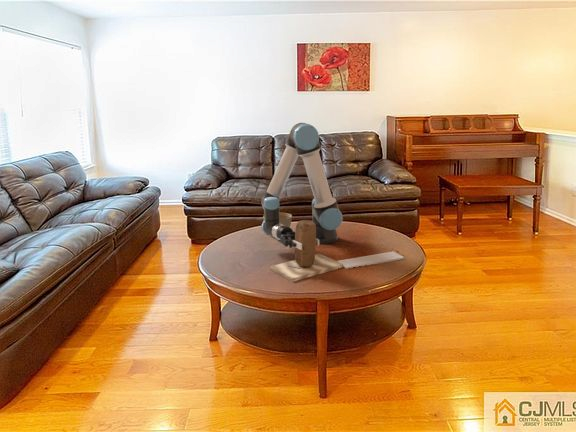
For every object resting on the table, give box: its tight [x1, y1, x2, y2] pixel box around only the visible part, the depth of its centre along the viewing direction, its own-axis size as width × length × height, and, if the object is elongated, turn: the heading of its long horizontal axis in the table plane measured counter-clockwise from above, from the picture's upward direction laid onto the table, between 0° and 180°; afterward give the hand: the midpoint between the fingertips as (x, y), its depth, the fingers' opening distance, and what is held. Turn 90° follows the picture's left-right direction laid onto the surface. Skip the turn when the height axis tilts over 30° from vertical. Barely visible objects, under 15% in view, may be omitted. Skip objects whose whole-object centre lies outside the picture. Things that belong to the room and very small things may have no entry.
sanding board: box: [269, 253, 343, 283], centre depth 211 cm, size 28×18×2 cm, turn 123°
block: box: [294, 219, 317, 267], centre depth 210 cm, size 11×8×20 cm
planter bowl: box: [262, 212, 293, 228], centre depth 262 cm, size 16×16×11 cm
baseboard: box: [336, 248, 405, 270], centre depth 219 cm, size 31×3×12 cm
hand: (310, 244), depth 206 cm, fingers closed on block, 9 cm apart
